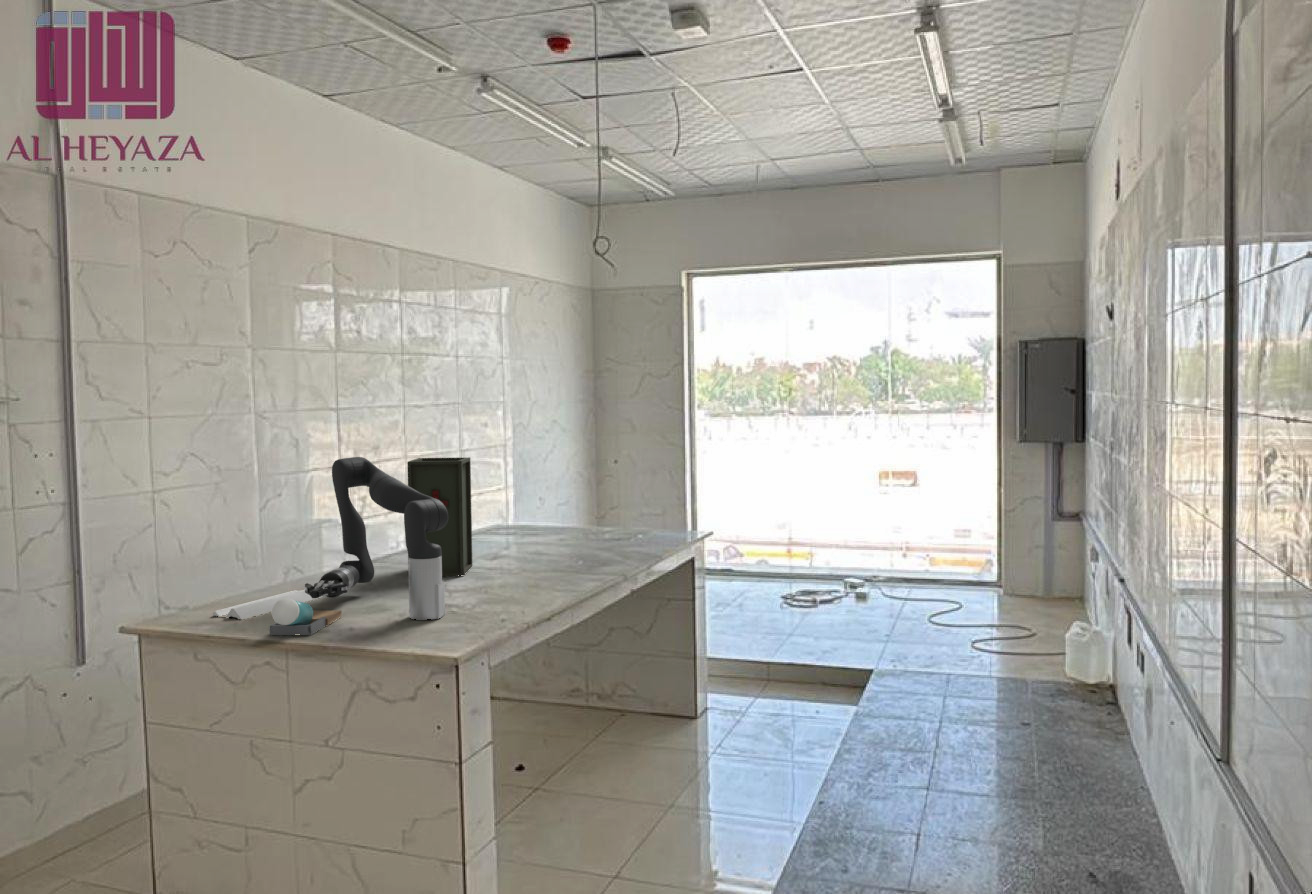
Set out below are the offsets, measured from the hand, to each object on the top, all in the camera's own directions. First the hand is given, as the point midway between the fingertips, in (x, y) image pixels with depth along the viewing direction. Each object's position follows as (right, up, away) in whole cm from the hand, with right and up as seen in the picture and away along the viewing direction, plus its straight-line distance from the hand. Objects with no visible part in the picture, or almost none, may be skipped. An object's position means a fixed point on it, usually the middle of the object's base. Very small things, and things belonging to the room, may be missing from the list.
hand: (314, 594), depth 264 cm
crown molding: (-20, -7, +19) cm, 28 cm away
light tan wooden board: (0, -7, 0) cm, 7 cm away
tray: (0, -8, -10) cm, 13 cm away
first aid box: (+19, -3, +73) cm, 75 cm away
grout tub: (-1, -4, -7) cm, 8 cm away
